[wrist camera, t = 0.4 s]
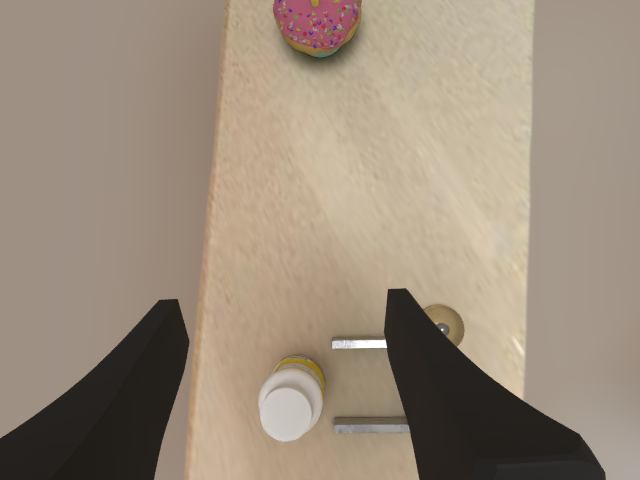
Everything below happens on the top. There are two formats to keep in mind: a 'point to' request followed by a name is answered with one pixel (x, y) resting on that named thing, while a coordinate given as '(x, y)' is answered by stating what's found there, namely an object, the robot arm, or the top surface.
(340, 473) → the top surface
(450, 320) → the gold disc
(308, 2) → the cupcake
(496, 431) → the robot arm
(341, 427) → the bracket
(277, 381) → the supplement bottle
